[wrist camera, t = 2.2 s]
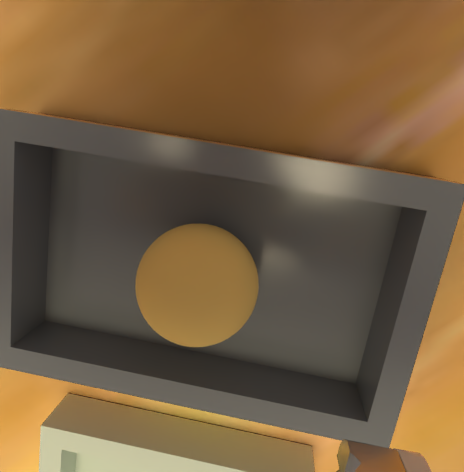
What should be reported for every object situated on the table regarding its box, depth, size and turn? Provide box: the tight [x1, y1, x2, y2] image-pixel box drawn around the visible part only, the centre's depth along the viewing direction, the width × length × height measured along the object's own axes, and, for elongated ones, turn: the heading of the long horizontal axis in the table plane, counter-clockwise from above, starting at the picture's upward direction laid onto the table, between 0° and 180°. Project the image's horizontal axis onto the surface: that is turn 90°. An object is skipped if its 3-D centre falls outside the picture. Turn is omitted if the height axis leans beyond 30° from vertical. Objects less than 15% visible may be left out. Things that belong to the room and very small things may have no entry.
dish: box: [0, 108, 464, 448], centre depth 16 cm, size 10×16×3 cm, turn 81°
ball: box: [135, 224, 259, 347], centre depth 14 cm, size 4×4×4 cm
